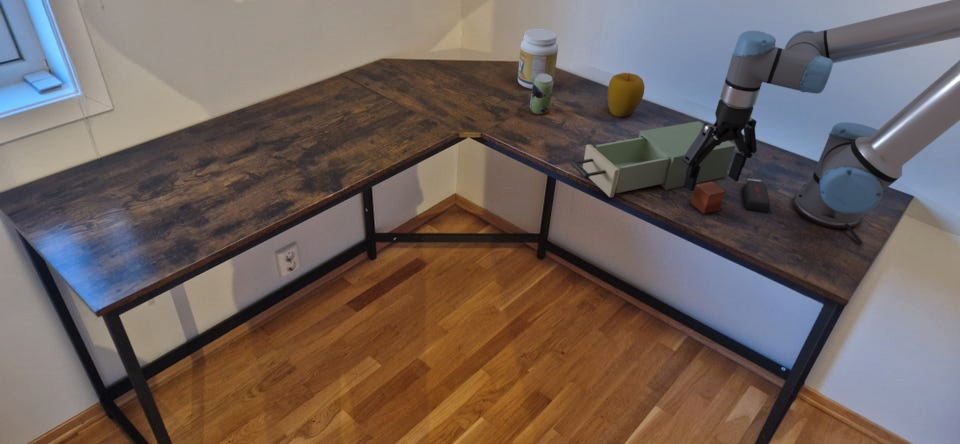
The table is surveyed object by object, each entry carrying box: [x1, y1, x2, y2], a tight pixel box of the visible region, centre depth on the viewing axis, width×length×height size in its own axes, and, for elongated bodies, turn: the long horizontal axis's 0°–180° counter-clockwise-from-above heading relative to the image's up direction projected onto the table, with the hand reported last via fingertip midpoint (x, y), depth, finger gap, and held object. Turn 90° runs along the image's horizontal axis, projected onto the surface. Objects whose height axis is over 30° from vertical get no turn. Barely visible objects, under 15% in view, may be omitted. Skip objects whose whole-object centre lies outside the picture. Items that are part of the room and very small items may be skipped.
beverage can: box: [529, 73, 554, 115], centre depth 197 cm, size 6×7×12 cm
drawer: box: [570, 137, 671, 198], centre depth 166 cm, size 25×13×8 cm, turn 114°
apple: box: [606, 72, 645, 118], centre depth 198 cm, size 11×11×13 cm
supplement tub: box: [517, 28, 559, 90], centre depth 213 cm, size 12×12×17 cm
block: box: [690, 180, 727, 215], centre depth 160 cm, size 5×5×6 cm
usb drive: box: [742, 178, 771, 213], centre depth 165 cm, size 5×12×3 cm, turn 167°
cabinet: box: [638, 120, 736, 191], centre depth 173 cm, size 20×15×10 cm
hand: (711, 183), depth 158 cm, fingers open, 13 cm apart
